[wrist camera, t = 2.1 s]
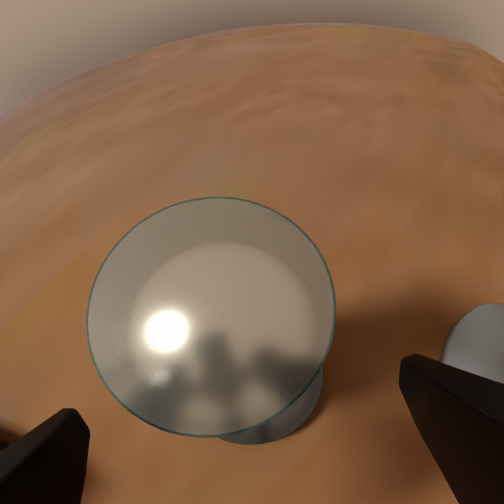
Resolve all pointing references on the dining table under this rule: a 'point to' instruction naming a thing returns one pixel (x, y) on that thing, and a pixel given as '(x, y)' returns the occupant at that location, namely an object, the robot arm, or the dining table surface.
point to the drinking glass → (211, 317)
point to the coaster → (478, 343)
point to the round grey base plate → (282, 418)
